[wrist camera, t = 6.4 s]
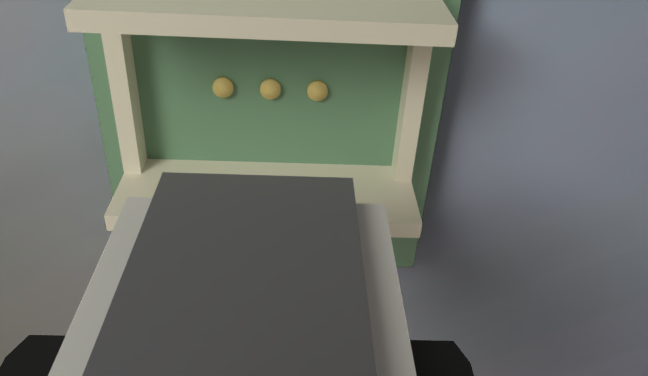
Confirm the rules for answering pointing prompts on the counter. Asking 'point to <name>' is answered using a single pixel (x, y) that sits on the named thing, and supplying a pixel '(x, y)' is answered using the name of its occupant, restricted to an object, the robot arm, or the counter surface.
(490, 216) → the counter surface
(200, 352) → the plug
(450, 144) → the counter surface
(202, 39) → the board
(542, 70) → the counter surface
